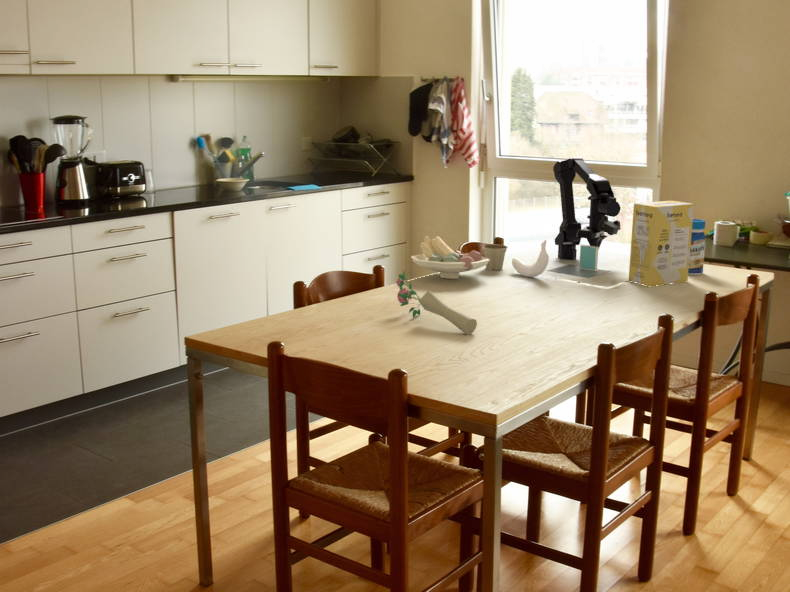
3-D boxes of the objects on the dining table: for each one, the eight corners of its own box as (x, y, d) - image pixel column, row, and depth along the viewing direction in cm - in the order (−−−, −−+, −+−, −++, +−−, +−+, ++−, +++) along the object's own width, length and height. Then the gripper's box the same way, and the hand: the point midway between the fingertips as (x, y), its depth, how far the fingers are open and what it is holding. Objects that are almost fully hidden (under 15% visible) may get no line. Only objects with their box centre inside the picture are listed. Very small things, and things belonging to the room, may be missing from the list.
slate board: (545, 272, 328) (546, 270, 328) (569, 266, 339) (569, 264, 339) (587, 280, 316) (587, 277, 316) (610, 273, 327) (611, 271, 327)
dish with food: (427, 267, 337) (427, 230, 334) (497, 273, 327) (498, 235, 323) (399, 281, 312) (399, 242, 309) (475, 288, 302) (476, 248, 298)
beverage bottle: (701, 271, 332) (706, 218, 327) (704, 276, 324) (709, 222, 319) (678, 270, 333) (682, 218, 329) (681, 275, 325) (685, 221, 321)
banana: (514, 271, 331) (516, 232, 327) (551, 280, 316) (553, 240, 312) (505, 272, 328) (506, 233, 325) (542, 281, 313) (543, 241, 310)
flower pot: (510, 268, 336) (511, 245, 334) (500, 272, 328) (500, 249, 326) (488, 265, 341) (489, 243, 339) (477, 269, 333) (478, 247, 331)
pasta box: (665, 276, 323) (671, 200, 317) (687, 281, 314) (694, 203, 308) (628, 281, 315) (633, 203, 308) (650, 287, 306) (656, 207, 299)
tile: (579, 268, 332) (580, 244, 330) (580, 267, 333) (582, 244, 331) (595, 271, 328) (596, 247, 326) (597, 270, 329) (598, 246, 326)
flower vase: (456, 360, 248) (379, 310, 272) (487, 341, 254) (409, 293, 277) (453, 327, 241) (375, 278, 265) (486, 308, 247) (406, 262, 271)
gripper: (603, 218, 317) (601, 260, 320) (629, 212, 330) (626, 253, 333) (577, 214, 324) (574, 256, 328) (603, 209, 337) (600, 249, 341)
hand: (595, 254), depth 332 cm, fingers closed
